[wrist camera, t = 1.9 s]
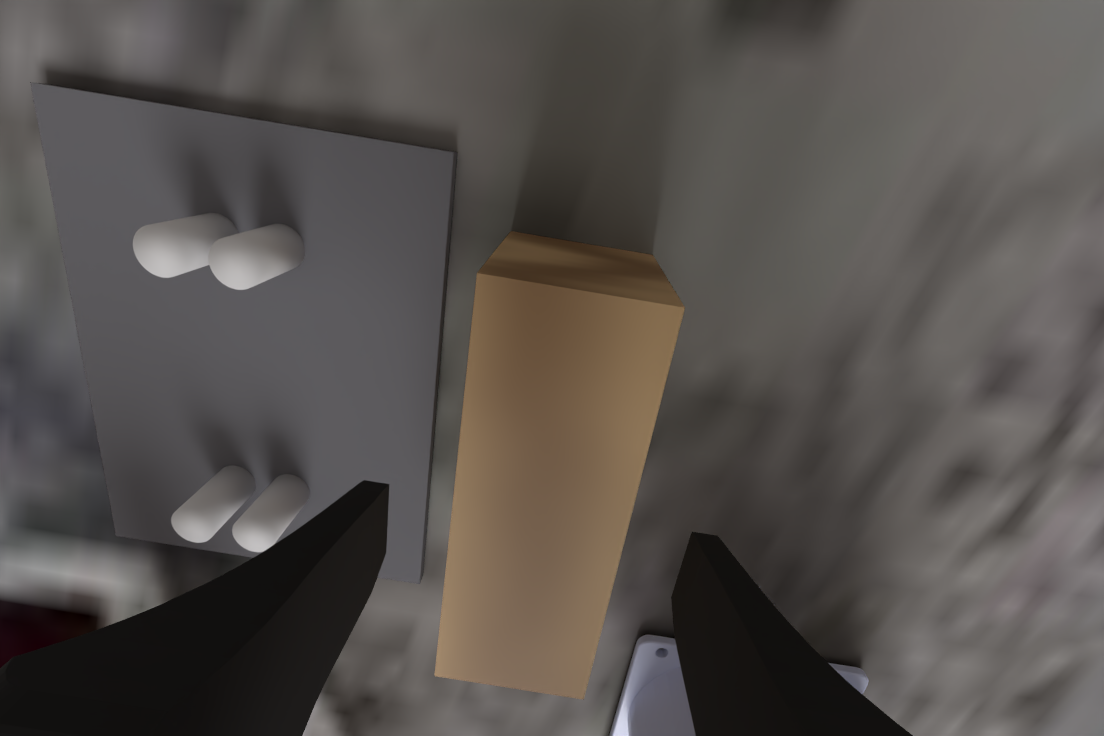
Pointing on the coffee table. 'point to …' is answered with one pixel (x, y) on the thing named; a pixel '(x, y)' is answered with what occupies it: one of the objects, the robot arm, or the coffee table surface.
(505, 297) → the oak block
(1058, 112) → the coffee table surface
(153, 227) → the peg base
